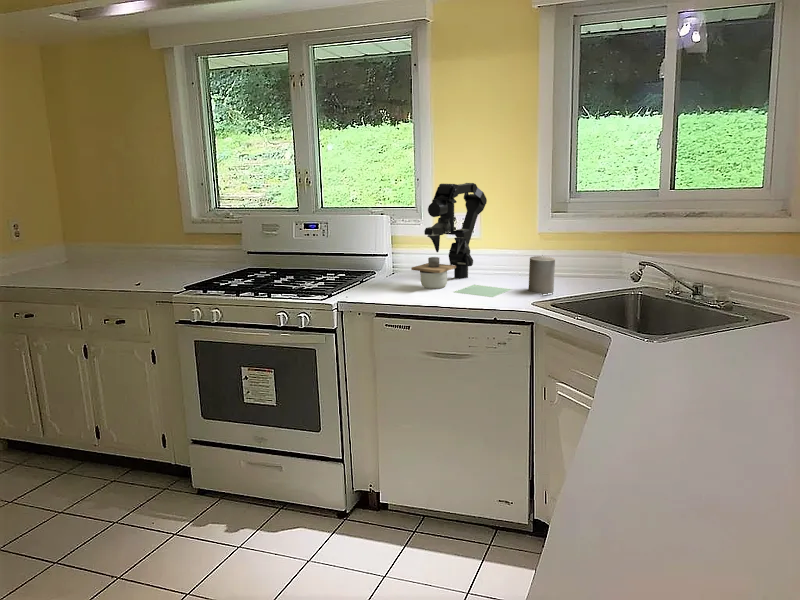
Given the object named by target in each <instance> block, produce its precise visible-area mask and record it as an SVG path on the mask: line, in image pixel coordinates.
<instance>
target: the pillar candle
mask: <svg viewBox="0 0 800 600" xmlns="http://www.w3.org/2000/svg"><path fill="white" fill-rule="evenodd" d="M555 267H556V258H555V257H552V256H545V255H544V256H543V254H541V255H537V256H536V255H534V256H530V257H529V268H528V269H529V271H528V290H527V291H528V292H530V293H536V294H548V293H553V292H555V291H554V290H555V271H556V270H555ZM553 294H554V293H553Z"/></svg>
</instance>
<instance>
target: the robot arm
mask: <svg viewBox="0 0 800 600" xmlns="http://www.w3.org/2000/svg"><path fill="white" fill-rule="evenodd" d="M459 195H463V200H464V202H465V204H464V206H465V208H466V214H465V216H464V220H463V222H462V226H461V228H459V229H456V228H457V227H455V221H456V220H457V219H456V218H457V217H456V216H455V204H456V203H457V200H456V199H455V198H457V197H459ZM487 202H488V200H487V197H486V195H485V192H483V191H482V189H480V188H479V187H478V185H477V184H476V183H474V182H464V183H459V184H456V183H440V184H438V187H437V188H436V190H435V194H434V196H433V199H432V200H431V203H430V204H429V205H428V207H427V212H428V214H429V215H430V217H432V218H438V219H437V222H436V223H434V225H433V226H429V227H425V229H424V231H423V232H424V236H427V237H428V238H429V239H430V240H431V242H432V243H433V244H432V245H433V246H434V249H435V252H436V253H439V250H440V244H441V243H440V241H441V236H443V235H452V236H455V237H454V241H455V242H451V245H450V249H449V253H448V260H449V265H455V266H456V268H455V269H453V270H454V271H453V272H454V274H453V275H454V277H451V278H450V279H451V280H455V279H458V280H462V279H468V278H469V267H472V266H473V265H474V259H473V257H472V255H471V249H470V246H469V245H470V242H471V238H472V237H473V236H472V235H473V232H474V228H475V225H476V223H477V219H478V217H479V215H480V214H481V213H482V212H483V211H484V209H485V207H486V204H487ZM470 278H471V277H470Z"/></svg>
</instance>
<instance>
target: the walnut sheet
mask: <svg viewBox="0 0 800 600" xmlns="http://www.w3.org/2000/svg"><path fill="white" fill-rule="evenodd" d="M427 259H428V261H427V262H428V263H423V264H419V265H416V266H412V267H411V271H416V272H420V271H424V272H434V273H442V272H445V271H447V272H448V271H451V270H455V268H456V266H455V265H450V264H442V263H440V257H438V256H431V257H429V256H428V258H427Z"/></svg>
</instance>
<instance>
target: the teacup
mask: <svg viewBox="0 0 800 600" xmlns="http://www.w3.org/2000/svg"><path fill="white" fill-rule="evenodd" d="M419 273H420V282H421V286H422V287H423V289H428V290H436V289H437V290H438V289H439V290H440V289H443V288H445V287H446V286H447V284H448V271H445V272H442V273H434V272H424V271H419Z"/></svg>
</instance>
